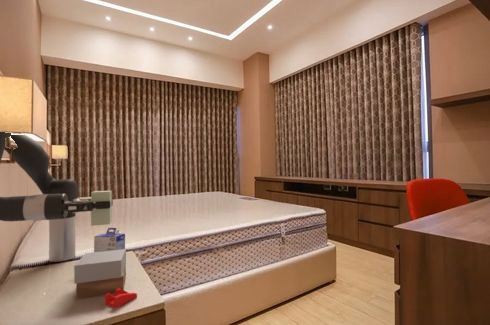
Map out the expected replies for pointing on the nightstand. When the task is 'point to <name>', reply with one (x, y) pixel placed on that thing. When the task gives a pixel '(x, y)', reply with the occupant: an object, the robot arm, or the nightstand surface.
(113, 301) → the red lumpy piece
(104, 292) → the walnut base block
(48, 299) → the nightstand surface
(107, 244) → the ink cartridge box
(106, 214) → the sage green tall block
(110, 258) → the slate grey top block
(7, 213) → the robot arm
